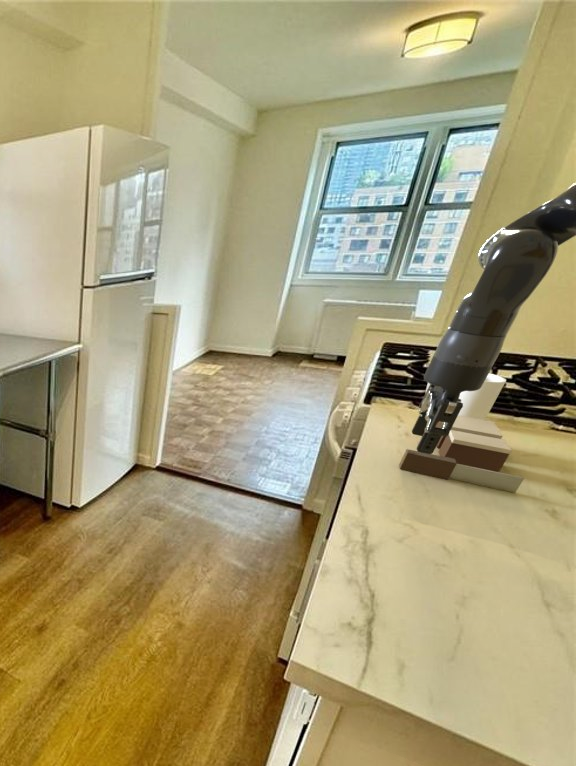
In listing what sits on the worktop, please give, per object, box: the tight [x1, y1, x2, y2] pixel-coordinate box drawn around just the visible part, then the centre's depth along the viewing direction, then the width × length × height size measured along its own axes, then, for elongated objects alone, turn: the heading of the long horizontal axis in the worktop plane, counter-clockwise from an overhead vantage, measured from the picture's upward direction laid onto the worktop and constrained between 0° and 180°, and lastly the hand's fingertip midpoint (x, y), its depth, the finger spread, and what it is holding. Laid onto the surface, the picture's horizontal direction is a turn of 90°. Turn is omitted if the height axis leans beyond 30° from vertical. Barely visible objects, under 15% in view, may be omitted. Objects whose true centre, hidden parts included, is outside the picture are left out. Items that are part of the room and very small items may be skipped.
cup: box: [424, 372, 507, 420], centre depth 111 cm, size 8×12×10 cm
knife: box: [398, 448, 525, 494], centre depth 87 cm, size 16×2×4 cm, turn 56°
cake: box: [436, 415, 503, 449], centre depth 98 cm, size 8×8×5 cm
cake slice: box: [438, 430, 513, 473], centre depth 92 cm, size 8×5×5 cm, turn 56°
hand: (420, 443), depth 89 cm, fingers open, 8 cm apart
